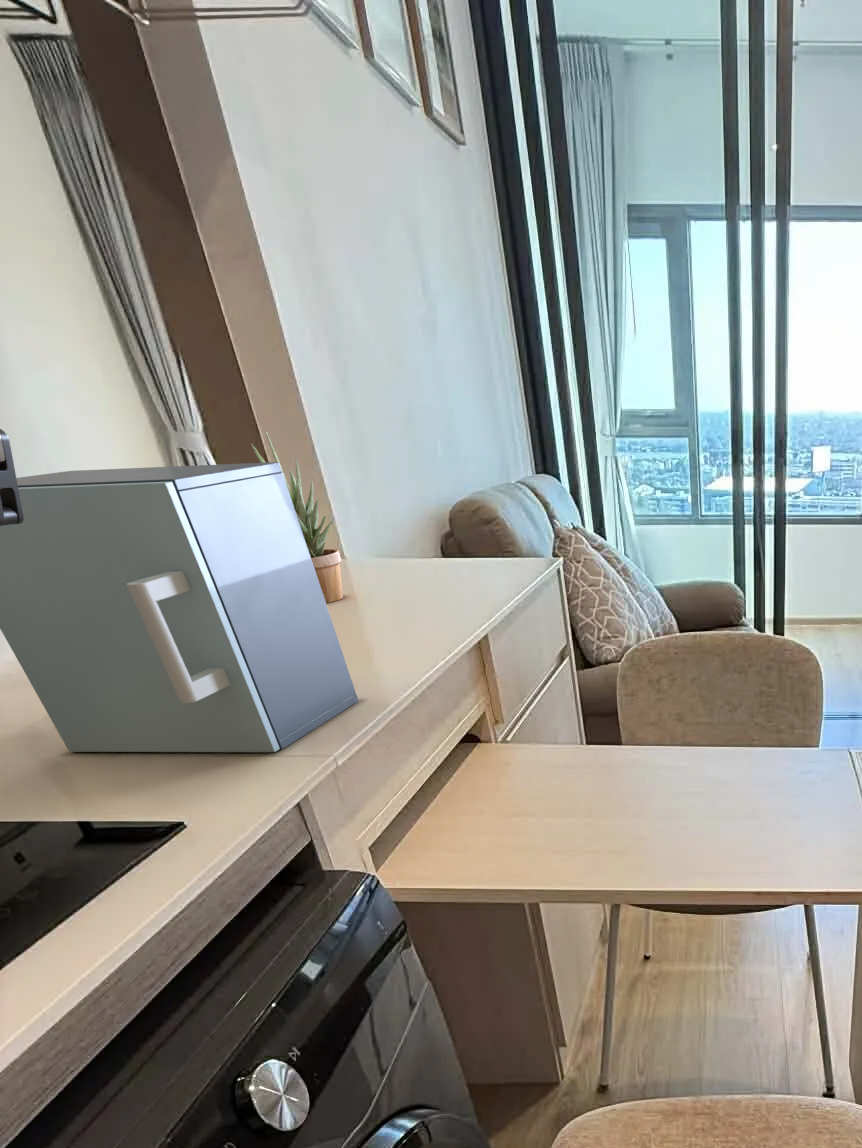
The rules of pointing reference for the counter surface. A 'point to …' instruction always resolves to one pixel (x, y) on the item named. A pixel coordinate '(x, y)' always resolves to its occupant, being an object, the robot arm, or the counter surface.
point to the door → (124, 624)
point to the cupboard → (255, 583)
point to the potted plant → (314, 535)
